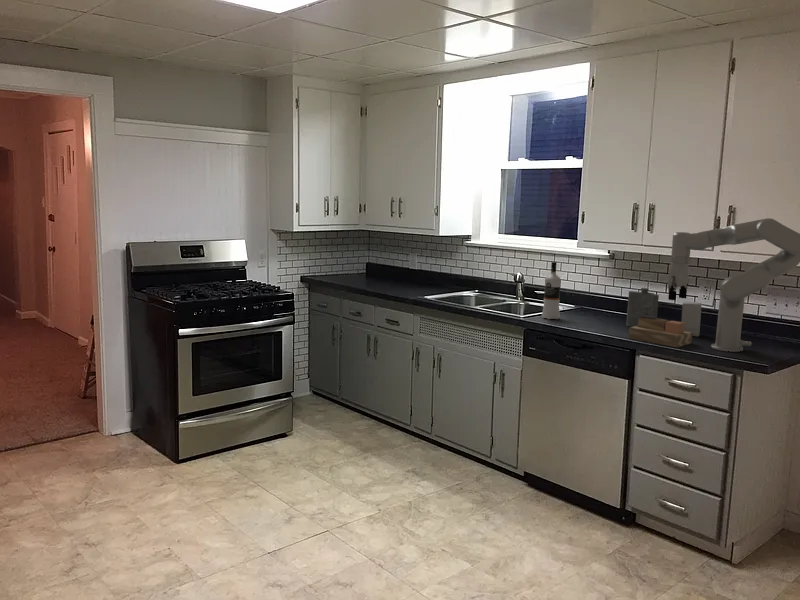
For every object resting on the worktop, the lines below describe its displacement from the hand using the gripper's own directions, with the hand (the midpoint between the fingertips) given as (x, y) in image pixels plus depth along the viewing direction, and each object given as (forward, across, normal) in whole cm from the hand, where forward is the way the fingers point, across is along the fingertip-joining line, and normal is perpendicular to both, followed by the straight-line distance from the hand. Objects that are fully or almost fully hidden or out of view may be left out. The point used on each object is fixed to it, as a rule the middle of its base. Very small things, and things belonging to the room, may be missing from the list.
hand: (677, 299), depth 302 cm
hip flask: (+20, -22, -28) cm, 41 cm away
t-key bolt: (+10, 0, -15) cm, 18 cm away
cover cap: (+15, 0, 0) cm, 15 cm away
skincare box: (+20, -25, -5) cm, 33 cm away
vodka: (+19, -6, -70) cm, 73 cm away
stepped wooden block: (+20, 0, -7) cm, 21 cm away
